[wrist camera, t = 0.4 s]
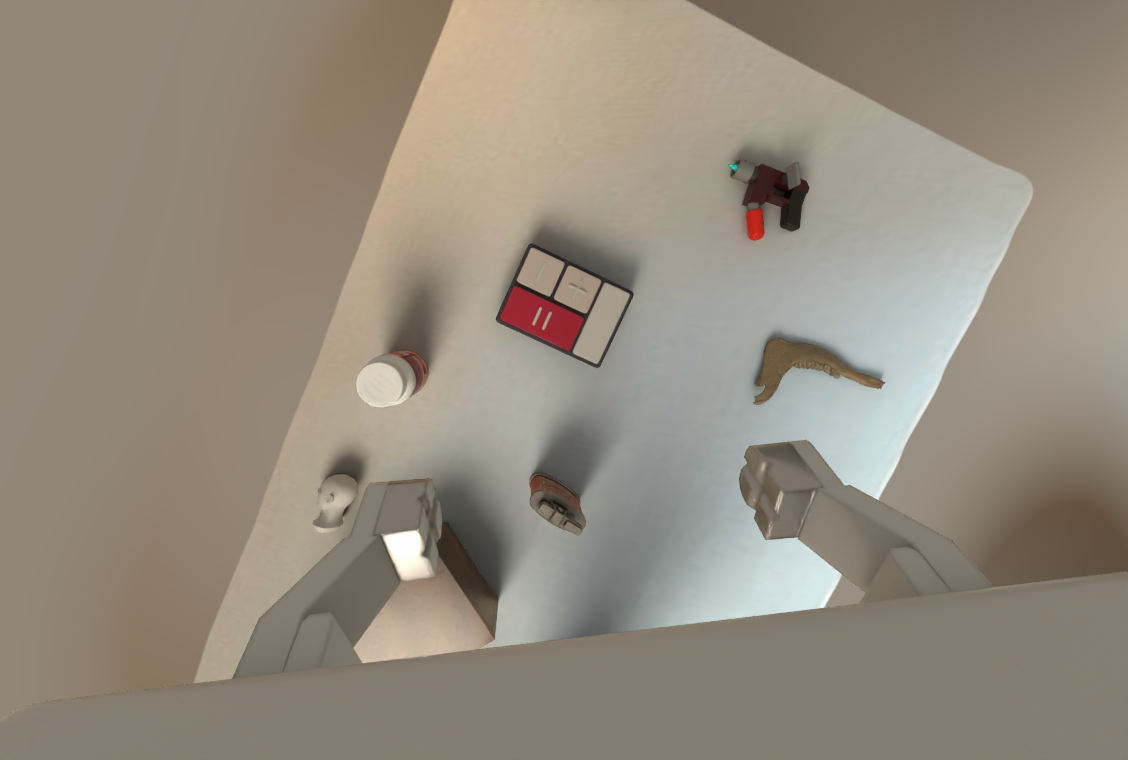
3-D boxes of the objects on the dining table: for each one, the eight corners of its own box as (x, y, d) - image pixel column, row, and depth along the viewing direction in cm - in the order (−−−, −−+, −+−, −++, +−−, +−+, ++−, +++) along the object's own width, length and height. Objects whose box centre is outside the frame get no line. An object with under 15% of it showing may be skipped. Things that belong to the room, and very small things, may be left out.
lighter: (524, 486, 67) (524, 515, 57) (537, 466, 66) (539, 492, 57) (571, 515, 68) (578, 548, 58) (584, 495, 68) (594, 526, 58)
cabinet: (401, 657, 68) (384, 703, 60) (345, 578, 66) (320, 616, 58) (498, 600, 69) (494, 639, 60) (446, 520, 66) (435, 549, 58)
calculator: (529, 240, 59) (636, 292, 60) (530, 246, 63) (630, 294, 64) (493, 320, 60) (599, 369, 61) (497, 321, 64) (596, 367, 65)
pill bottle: (414, 342, 63) (390, 346, 52) (436, 382, 64) (418, 395, 53) (373, 363, 63) (340, 372, 52) (396, 403, 64) (369, 421, 53)
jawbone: (742, 341, 67) (749, 341, 65) (876, 326, 69) (887, 325, 67) (748, 404, 68) (755, 405, 66) (881, 387, 69) (891, 388, 67)
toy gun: (728, 155, 63) (744, 141, 58) (807, 184, 64) (829, 174, 60) (704, 225, 64) (719, 218, 59) (783, 253, 65) (803, 248, 61)
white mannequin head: (341, 463, 65) (370, 482, 64) (315, 513, 66) (344, 532, 65) (320, 468, 61) (350, 488, 60) (292, 521, 61) (323, 541, 61)
